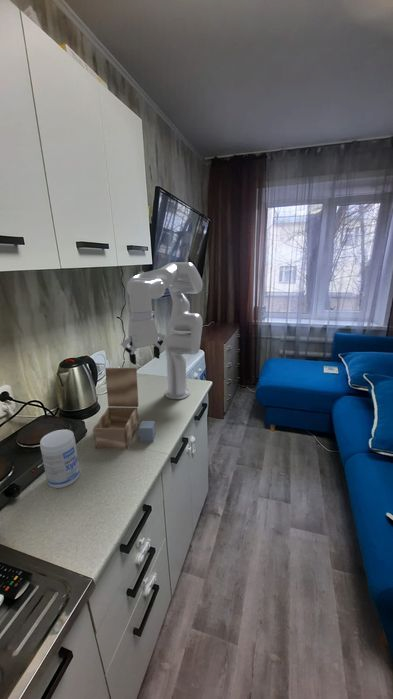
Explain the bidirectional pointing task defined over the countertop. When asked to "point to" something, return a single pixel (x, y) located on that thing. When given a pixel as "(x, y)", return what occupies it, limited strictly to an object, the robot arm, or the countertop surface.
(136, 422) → the box
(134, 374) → the lid
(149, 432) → the block
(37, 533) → the countertop surface
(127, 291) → the robot arm
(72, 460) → the supplement tub
